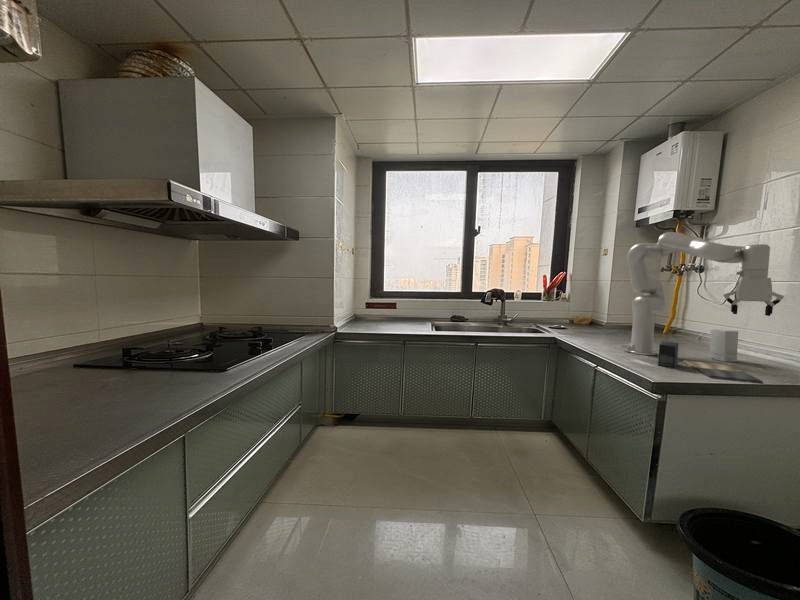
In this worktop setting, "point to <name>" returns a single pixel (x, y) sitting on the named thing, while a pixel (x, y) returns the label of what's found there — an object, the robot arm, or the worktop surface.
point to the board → (721, 371)
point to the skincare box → (723, 345)
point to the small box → (668, 354)
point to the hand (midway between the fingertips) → (750, 314)
